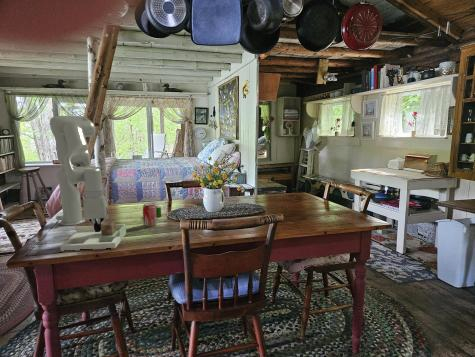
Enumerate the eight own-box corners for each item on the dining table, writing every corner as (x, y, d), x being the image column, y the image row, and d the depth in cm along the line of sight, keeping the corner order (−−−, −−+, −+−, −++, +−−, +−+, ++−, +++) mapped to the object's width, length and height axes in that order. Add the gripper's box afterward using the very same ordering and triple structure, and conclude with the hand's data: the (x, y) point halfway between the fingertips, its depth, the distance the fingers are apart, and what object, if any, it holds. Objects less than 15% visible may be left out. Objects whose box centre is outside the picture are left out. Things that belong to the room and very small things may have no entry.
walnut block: (101, 235, 144) (100, 225, 143) (105, 232, 149) (104, 222, 148) (112, 235, 144) (111, 225, 144) (115, 231, 149) (115, 222, 149)
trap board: (60, 251, 133) (59, 240, 132) (78, 236, 151) (77, 226, 150) (115, 248, 135) (114, 237, 134) (126, 233, 154) (125, 224, 153)
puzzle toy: (159, 214, 188) (158, 205, 187) (161, 217, 183) (160, 207, 182) (149, 215, 185) (148, 206, 184) (151, 218, 180) (150, 208, 179)
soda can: (145, 223, 170) (143, 202, 168) (158, 222, 171) (156, 202, 169) (142, 227, 163) (140, 205, 161) (155, 226, 164) (154, 205, 162)
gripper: (74, 196, 139) (78, 234, 142) (108, 195, 140) (111, 233, 143) (81, 193, 146) (84, 229, 149) (113, 191, 148) (116, 228, 151)
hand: (98, 231), depth 146 cm, fingers closed
